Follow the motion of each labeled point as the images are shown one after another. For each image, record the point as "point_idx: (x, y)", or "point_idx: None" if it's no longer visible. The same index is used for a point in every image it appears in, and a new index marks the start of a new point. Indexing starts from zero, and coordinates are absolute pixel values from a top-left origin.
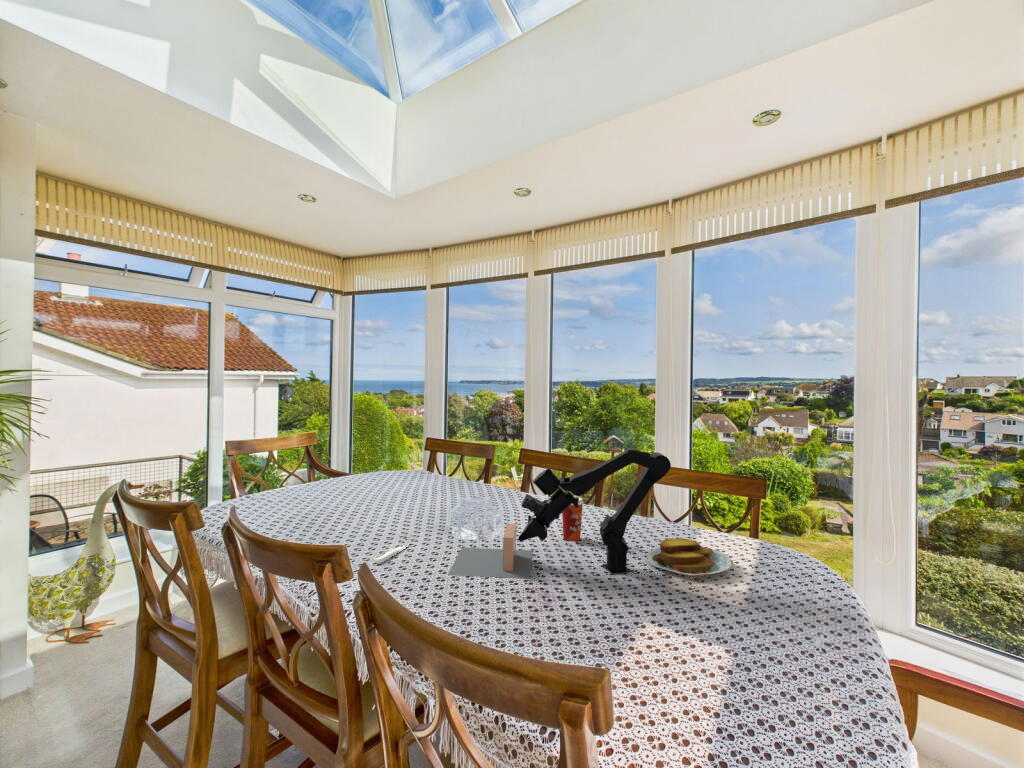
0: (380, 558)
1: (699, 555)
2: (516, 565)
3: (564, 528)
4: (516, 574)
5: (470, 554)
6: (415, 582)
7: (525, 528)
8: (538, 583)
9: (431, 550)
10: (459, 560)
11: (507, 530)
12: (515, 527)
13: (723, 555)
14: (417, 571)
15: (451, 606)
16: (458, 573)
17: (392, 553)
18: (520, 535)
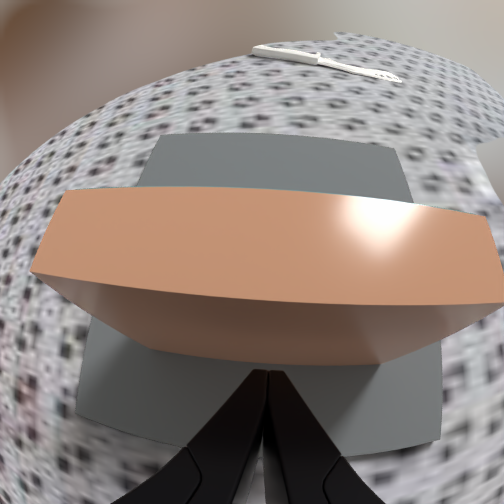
0: (259, 47)
1: None
2: (225, 373)
3: None
4: (116, 362)
5: (342, 168)
6: (150, 102)
7: (282, 483)
8: (63, 439)
9: (354, 99)
10: (277, 143)
11: (278, 205)
12: (420, 303)
13: None
14: (211, 91)
15: (25, 185)
16: (164, 154)
17: (295, 55)
18: (252, 394)
